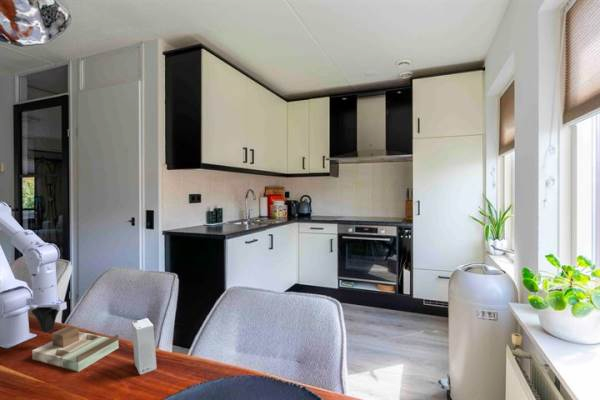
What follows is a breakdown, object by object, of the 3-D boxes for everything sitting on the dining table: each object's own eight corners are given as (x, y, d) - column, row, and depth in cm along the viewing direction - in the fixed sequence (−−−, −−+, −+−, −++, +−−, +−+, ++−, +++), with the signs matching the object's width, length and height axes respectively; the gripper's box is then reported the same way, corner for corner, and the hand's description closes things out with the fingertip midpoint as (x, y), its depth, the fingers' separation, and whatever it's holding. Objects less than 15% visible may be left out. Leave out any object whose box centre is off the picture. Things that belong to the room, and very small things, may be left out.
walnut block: (52, 345, 90) (51, 333, 90) (68, 337, 94) (67, 326, 94) (63, 347, 89) (62, 335, 88) (79, 340, 93) (78, 328, 93)
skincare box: (157, 369, 83) (155, 324, 82) (138, 376, 80) (136, 330, 79) (151, 358, 87) (149, 316, 86) (133, 365, 84) (131, 321, 84)
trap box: (32, 359, 88) (31, 345, 87) (75, 338, 99) (74, 325, 99) (78, 371, 82) (77, 356, 82) (118, 347, 93) (118, 334, 93)
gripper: (12, 288, 91) (16, 333, 92) (46, 293, 87) (50, 340, 88) (39, 280, 98) (42, 322, 99) (72, 285, 93) (75, 329, 94)
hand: (48, 330), depth 94 cm, fingers closed
